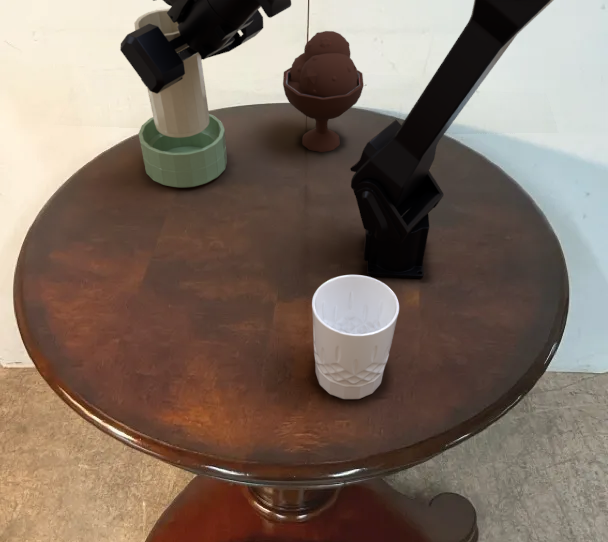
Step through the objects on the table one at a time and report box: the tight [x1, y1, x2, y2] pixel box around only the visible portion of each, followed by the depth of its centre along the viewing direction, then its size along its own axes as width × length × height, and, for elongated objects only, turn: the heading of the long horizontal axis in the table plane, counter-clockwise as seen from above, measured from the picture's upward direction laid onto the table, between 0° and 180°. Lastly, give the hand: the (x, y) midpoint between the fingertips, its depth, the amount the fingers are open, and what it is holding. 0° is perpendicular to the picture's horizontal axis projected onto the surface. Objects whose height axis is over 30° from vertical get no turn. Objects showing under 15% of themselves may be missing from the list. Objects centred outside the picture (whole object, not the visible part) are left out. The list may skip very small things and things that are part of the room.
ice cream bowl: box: [282, 30, 364, 153], centre depth 94 cm, size 11×11×15 cm
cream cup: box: [134, 8, 210, 138], centre depth 85 cm, size 7×7×13 cm
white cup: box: [311, 274, 400, 400], centre depth 66 cm, size 8×8×10 cm
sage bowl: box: [138, 113, 228, 188], centre depth 92 cm, size 11×11×6 cm
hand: (165, 70), depth 85 cm, fingers closed on cream cup, 7 cm apart
